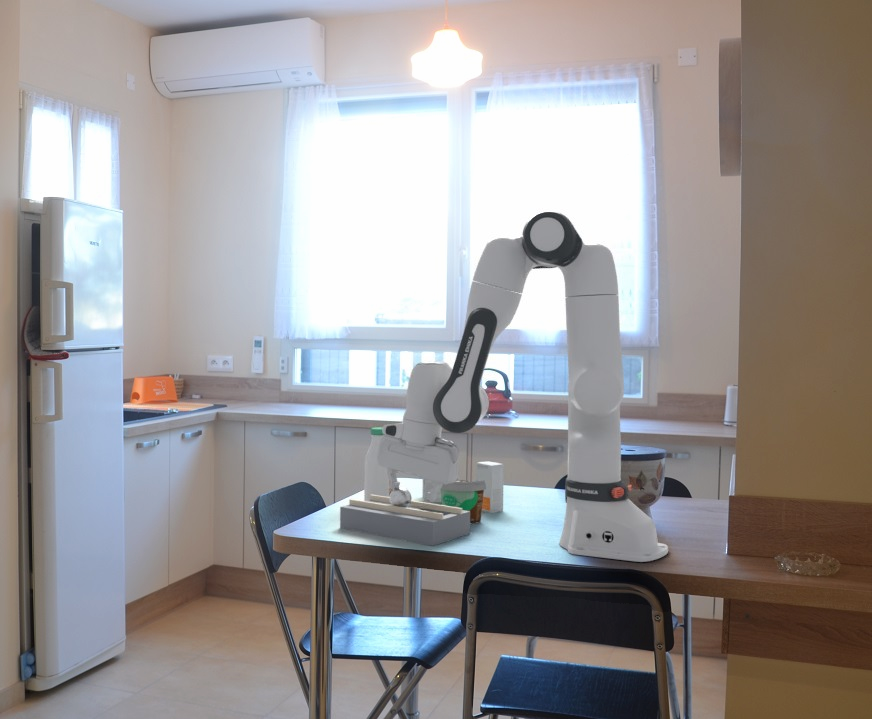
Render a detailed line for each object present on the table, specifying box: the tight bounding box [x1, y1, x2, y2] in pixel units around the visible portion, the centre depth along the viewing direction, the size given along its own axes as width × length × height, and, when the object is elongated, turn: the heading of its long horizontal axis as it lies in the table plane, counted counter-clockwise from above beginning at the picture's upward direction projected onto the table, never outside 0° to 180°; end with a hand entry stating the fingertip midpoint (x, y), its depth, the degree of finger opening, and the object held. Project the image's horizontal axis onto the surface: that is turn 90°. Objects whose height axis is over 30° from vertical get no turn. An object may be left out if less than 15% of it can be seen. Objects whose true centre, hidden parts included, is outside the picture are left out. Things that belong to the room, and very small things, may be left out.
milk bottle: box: [363, 426, 392, 501], centre depth 223 cm, size 8×8×20 cm
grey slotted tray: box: [339, 494, 471, 547], centre depth 195 cm, size 26×14×6 cm, turn 54°
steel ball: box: [389, 486, 413, 508], centre depth 194 cm, size 5×5×5 cm
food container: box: [440, 479, 486, 524], centre depth 204 cm, size 12×6×10 cm, turn 62°
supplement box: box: [422, 478, 441, 503], centre depth 230 cm, size 7×7×13 cm
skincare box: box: [475, 460, 505, 514], centre depth 218 cm, size 6×4×12 cm
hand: (412, 495), depth 191 cm, fingers open, 8 cm apart
